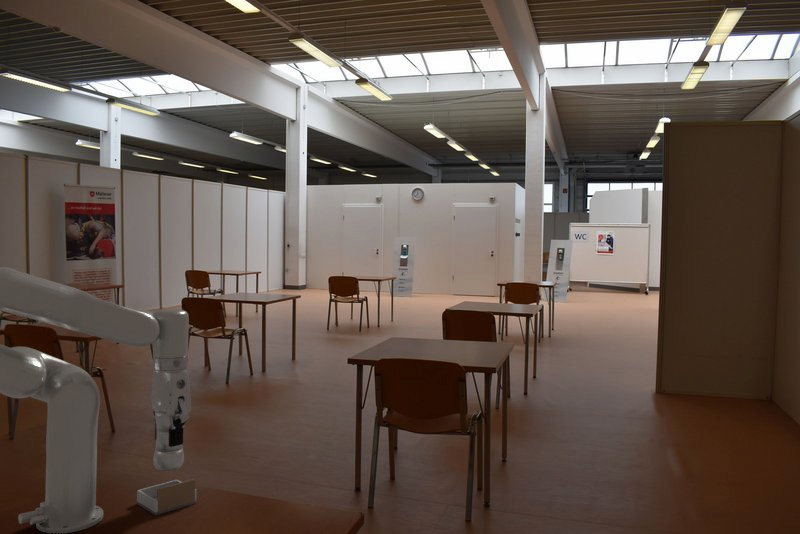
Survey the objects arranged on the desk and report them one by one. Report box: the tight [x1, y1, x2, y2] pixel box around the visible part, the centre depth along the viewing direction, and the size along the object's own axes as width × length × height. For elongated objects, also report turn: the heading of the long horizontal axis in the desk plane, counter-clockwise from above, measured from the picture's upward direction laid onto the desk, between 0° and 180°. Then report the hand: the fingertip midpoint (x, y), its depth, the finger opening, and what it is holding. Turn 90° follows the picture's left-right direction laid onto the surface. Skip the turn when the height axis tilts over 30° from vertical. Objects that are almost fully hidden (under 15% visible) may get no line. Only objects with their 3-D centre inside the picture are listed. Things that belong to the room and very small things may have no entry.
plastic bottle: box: [152, 399, 185, 472], centre depth 142 cm, size 6×7×20 cm
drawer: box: [136, 478, 198, 516], centre depth 142 cm, size 10×9×6 cm
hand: (168, 441), depth 142 cm, fingers closed on plastic bottle, 5 cm apart
